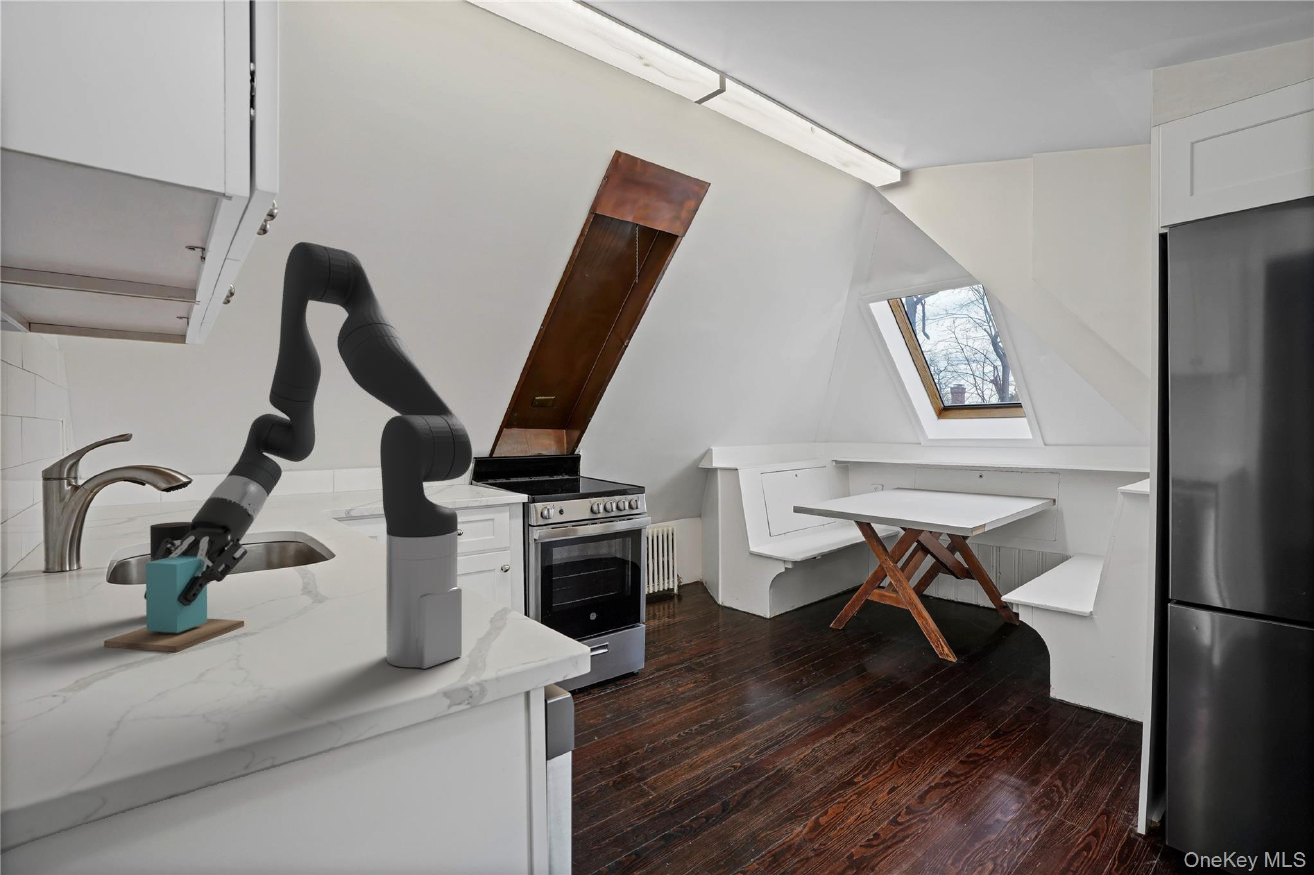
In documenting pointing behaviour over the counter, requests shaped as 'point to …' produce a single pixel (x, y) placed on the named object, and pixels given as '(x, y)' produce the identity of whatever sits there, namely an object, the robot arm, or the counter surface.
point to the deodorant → (166, 534)
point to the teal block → (172, 595)
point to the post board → (173, 636)
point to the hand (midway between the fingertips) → (166, 601)
